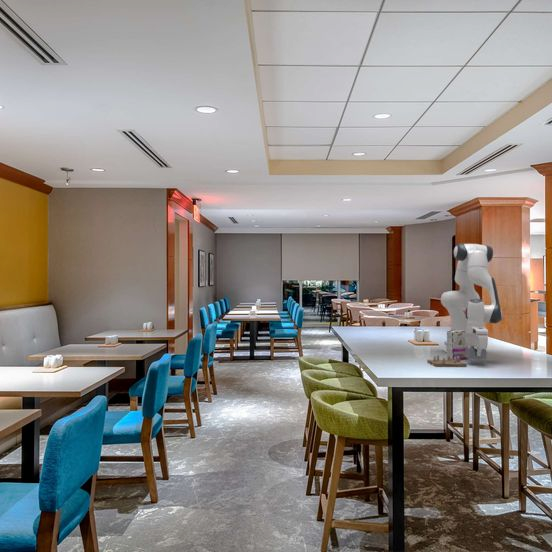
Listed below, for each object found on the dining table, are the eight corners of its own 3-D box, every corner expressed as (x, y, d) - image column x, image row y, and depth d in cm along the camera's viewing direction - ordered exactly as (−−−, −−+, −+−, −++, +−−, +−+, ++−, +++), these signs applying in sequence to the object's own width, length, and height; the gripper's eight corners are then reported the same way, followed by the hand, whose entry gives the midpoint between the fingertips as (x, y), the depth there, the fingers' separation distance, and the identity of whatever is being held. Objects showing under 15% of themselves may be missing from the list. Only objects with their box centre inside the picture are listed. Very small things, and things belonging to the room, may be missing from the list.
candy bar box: (461, 357, 275) (461, 329, 276) (468, 359, 271) (467, 330, 271) (446, 359, 271) (446, 330, 271) (452, 360, 266) (452, 331, 267)
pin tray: (427, 362, 260) (427, 354, 260) (456, 362, 260) (456, 354, 260) (436, 366, 246) (436, 358, 246) (466, 366, 246) (466, 358, 246)
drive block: (465, 357, 257) (465, 347, 257) (481, 357, 257) (481, 347, 257) (469, 358, 252) (469, 349, 252) (486, 358, 252) (486, 349, 252)
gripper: (462, 327, 265) (462, 351, 265) (477, 331, 245) (477, 358, 245) (473, 327, 265) (473, 351, 265) (490, 331, 244) (489, 358, 245)
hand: (475, 354), depth 255 cm, fingers closed on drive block, 5 cm apart
